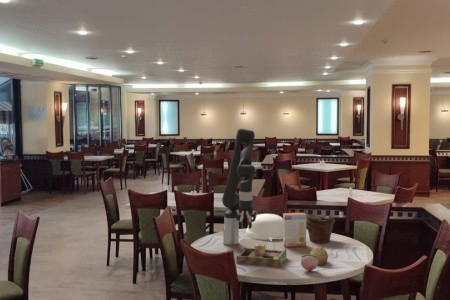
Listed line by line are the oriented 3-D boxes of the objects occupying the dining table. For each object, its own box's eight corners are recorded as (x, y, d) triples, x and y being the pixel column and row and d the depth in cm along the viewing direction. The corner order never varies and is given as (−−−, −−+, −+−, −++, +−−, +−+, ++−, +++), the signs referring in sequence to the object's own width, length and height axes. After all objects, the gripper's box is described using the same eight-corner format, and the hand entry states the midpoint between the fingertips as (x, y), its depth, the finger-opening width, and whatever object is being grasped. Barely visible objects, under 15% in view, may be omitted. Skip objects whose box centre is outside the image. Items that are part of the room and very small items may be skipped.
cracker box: (304, 244, 320) (304, 212, 318) (306, 247, 314) (306, 214, 312) (282, 244, 318) (282, 212, 317) (284, 247, 312) (284, 214, 311)
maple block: (254, 254, 287) (254, 245, 286) (256, 251, 292) (256, 243, 291) (263, 254, 285) (263, 246, 285) (265, 252, 290) (265, 244, 290)
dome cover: (298, 235, 345) (299, 215, 344) (270, 243, 324) (270, 221, 323) (264, 227, 368) (264, 208, 367) (235, 234, 347) (235, 214, 346)
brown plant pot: (341, 241, 327) (341, 214, 326) (319, 246, 316) (319, 218, 315) (321, 236, 342) (321, 210, 341) (299, 240, 330) (299, 214, 329)
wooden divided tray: (236, 262, 280) (236, 252, 279) (244, 254, 297) (244, 244, 297) (280, 267, 272) (280, 256, 272) (286, 258, 290) (286, 247, 289)
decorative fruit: (316, 268, 270) (316, 250, 269) (319, 273, 262) (319, 254, 261) (298, 268, 270) (299, 250, 269) (301, 273, 261) (301, 254, 261)
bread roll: (323, 258, 290) (323, 244, 289) (330, 266, 275) (331, 251, 274) (307, 258, 289) (307, 245, 288) (313, 266, 274) (313, 252, 273)
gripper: (232, 199, 287) (232, 228, 288) (256, 200, 283) (256, 230, 284) (235, 197, 294) (235, 226, 296) (259, 198, 290) (259, 227, 291)
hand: (245, 228), depth 290 cm, fingers open, 4 cm apart
